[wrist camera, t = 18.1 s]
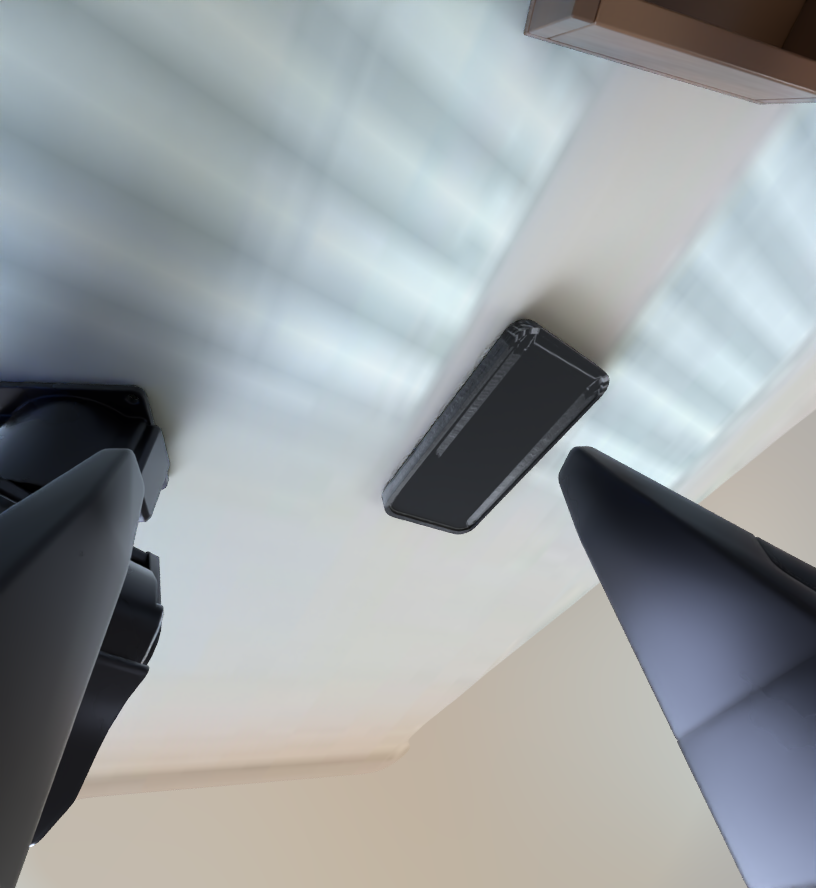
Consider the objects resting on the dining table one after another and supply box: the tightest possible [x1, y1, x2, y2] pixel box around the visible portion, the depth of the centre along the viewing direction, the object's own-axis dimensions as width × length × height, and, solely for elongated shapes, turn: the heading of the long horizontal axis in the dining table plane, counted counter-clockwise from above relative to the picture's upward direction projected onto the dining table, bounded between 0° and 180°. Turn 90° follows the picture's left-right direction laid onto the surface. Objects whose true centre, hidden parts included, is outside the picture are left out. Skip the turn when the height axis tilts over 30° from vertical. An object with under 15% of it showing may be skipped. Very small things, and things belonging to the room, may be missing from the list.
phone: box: [382, 319, 609, 534], centre depth 26 cm, size 8×1×15 cm
